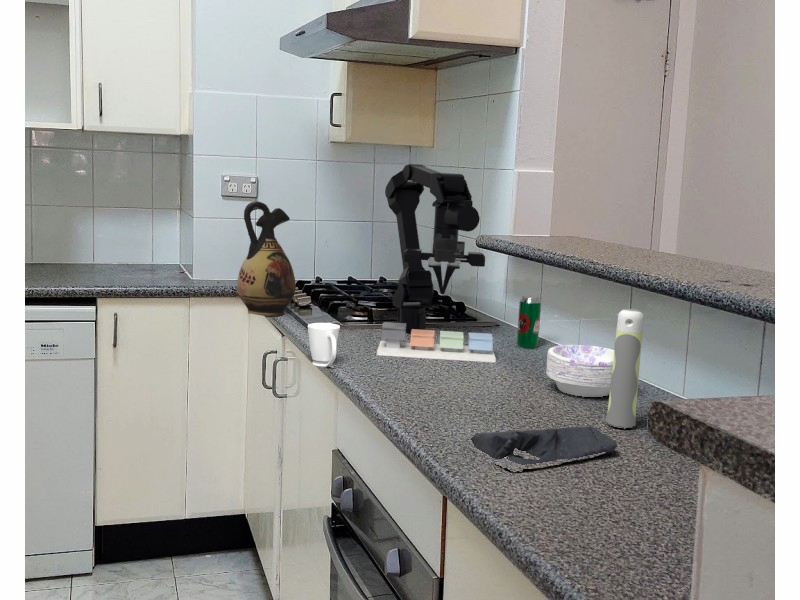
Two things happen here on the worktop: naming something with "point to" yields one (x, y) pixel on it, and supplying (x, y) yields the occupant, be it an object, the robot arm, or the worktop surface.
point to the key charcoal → (393, 331)
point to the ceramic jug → (265, 266)
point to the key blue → (480, 341)
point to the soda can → (528, 322)
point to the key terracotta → (422, 338)
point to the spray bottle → (625, 369)
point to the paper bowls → (581, 369)
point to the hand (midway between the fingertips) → (442, 294)
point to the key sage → (451, 339)
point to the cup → (323, 343)
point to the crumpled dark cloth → (544, 443)
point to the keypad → (433, 352)
